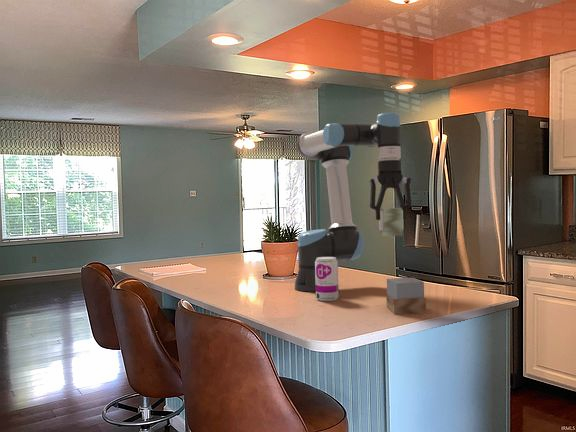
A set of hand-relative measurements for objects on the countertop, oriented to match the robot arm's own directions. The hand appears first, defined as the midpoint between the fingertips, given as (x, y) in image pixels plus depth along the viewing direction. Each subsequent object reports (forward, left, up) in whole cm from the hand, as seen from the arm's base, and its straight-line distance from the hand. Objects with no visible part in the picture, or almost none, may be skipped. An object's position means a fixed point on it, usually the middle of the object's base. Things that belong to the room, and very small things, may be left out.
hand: (391, 229), depth 173 cm
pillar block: (0, 0, -2) cm, 2 cm away
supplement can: (-20, +14, -26) cm, 36 cm away
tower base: (+3, -7, -26) cm, 27 cm away
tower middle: (+2, -7, -21) cm, 22 cm away
